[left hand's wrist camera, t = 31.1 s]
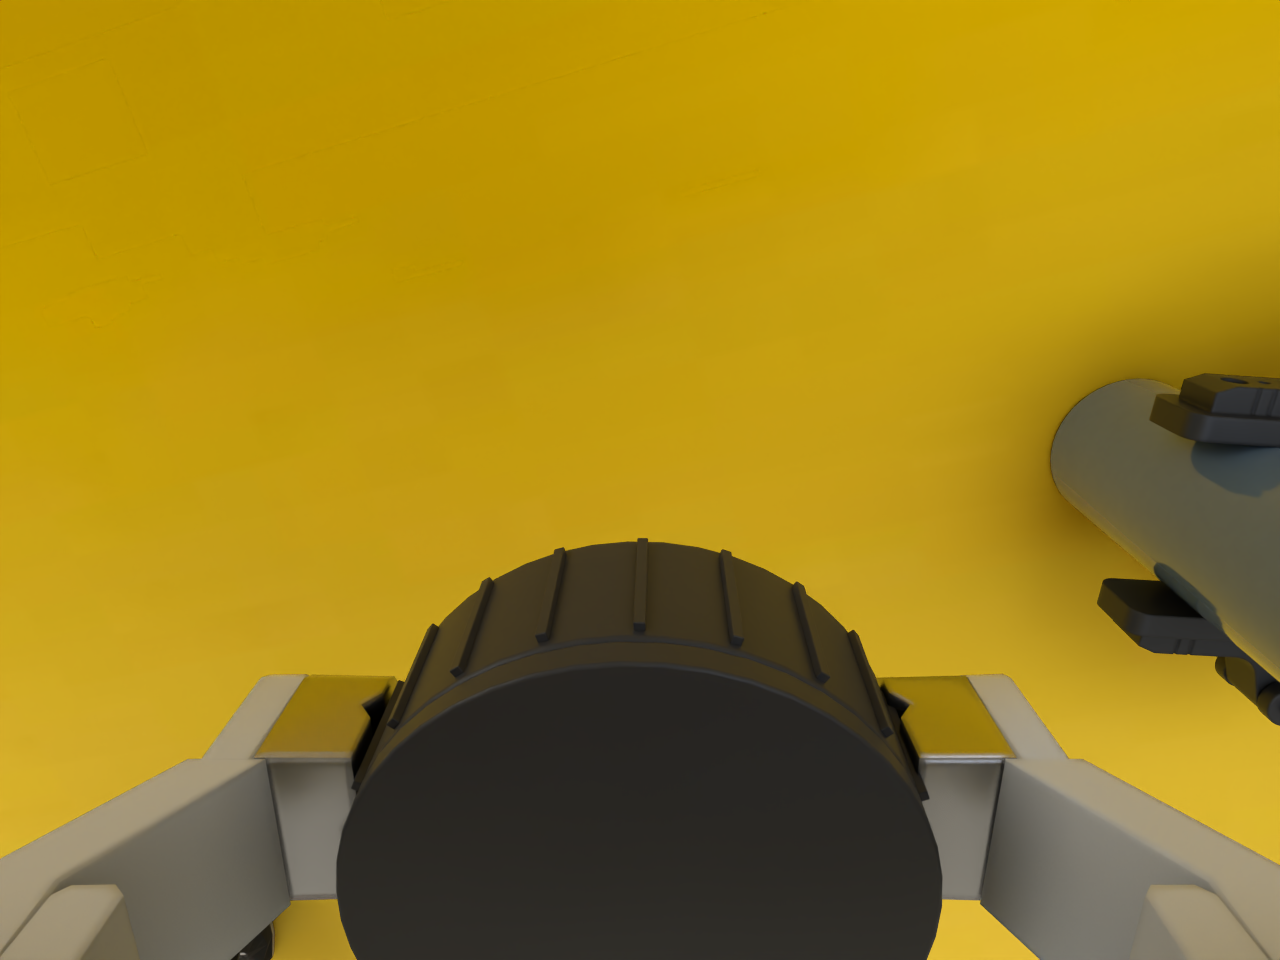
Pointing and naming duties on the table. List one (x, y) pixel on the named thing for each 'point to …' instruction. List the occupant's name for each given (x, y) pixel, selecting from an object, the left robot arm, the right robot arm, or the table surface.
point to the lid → (639, 777)
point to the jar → (1181, 509)
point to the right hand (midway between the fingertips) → (1142, 515)
